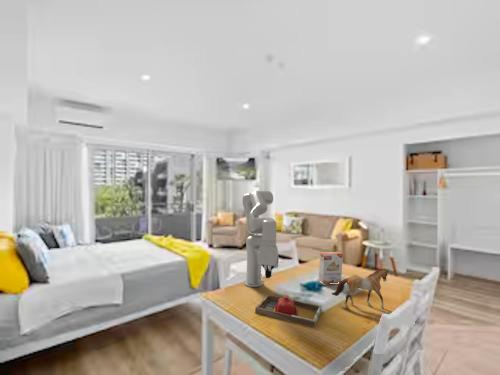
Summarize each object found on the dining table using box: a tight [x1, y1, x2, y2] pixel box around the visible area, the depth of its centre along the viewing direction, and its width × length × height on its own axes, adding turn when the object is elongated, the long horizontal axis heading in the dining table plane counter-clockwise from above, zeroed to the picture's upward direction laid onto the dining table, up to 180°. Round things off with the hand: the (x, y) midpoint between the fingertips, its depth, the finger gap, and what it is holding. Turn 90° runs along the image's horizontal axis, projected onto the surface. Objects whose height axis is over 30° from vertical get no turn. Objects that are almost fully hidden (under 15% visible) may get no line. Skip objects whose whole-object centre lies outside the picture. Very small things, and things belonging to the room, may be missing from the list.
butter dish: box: [274, 295, 299, 316], centre depth 140 cm, size 12×12×8 cm
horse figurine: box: [331, 268, 389, 309], centre depth 149 cm, size 31×8×21 cm, turn 91°
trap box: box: [255, 294, 322, 328], centre depth 140 cm, size 18×30×3 cm, turn 65°
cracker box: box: [318, 251, 343, 284], centre depth 181 cm, size 14×6×21 cm, turn 105°
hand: (268, 277), depth 145 cm, fingers closed
